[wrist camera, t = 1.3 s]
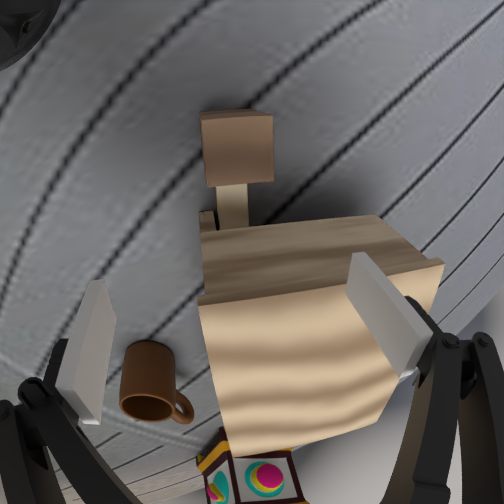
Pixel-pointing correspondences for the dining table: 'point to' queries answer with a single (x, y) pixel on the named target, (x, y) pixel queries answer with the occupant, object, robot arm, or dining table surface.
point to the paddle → (236, 159)
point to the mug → (152, 385)
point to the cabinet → (299, 326)
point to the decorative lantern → (249, 476)
